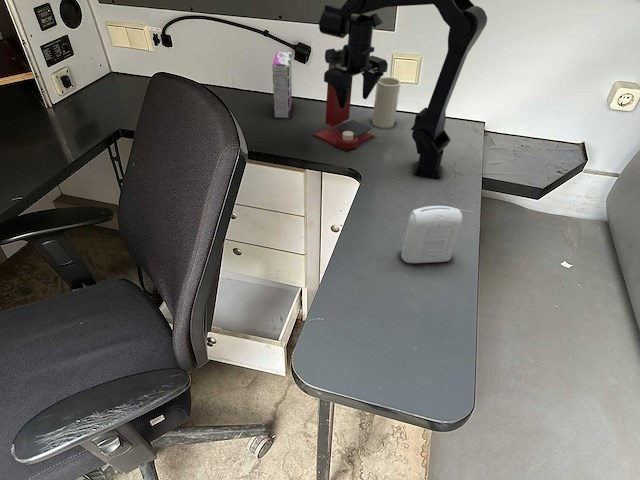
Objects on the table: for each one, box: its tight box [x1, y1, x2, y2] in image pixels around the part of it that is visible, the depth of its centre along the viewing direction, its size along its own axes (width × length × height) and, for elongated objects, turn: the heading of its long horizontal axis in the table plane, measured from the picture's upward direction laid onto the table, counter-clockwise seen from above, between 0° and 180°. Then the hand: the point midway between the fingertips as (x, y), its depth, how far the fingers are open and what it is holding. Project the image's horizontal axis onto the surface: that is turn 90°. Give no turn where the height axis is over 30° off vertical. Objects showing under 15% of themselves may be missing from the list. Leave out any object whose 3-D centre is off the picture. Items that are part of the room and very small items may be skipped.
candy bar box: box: [272, 51, 293, 119], centre depth 143 cm, size 11×5×16 cm, turn 179°
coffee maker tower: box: [325, 63, 373, 137], centre depth 130 cm, size 12×7×18 cm, turn 48°
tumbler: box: [371, 76, 402, 129], centre depth 140 cm, size 7×7×13 cm
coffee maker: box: [314, 122, 374, 152], centre depth 135 cm, size 13×13×2 cm
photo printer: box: [400, 205, 463, 264], centre depth 93 cm, size 10×4×12 cm, turn 98°
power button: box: [342, 131, 353, 141], centre depth 130 cm, size 3×3×2 cm
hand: (353, 103), depth 125 cm, fingers open, 9 cm apart
